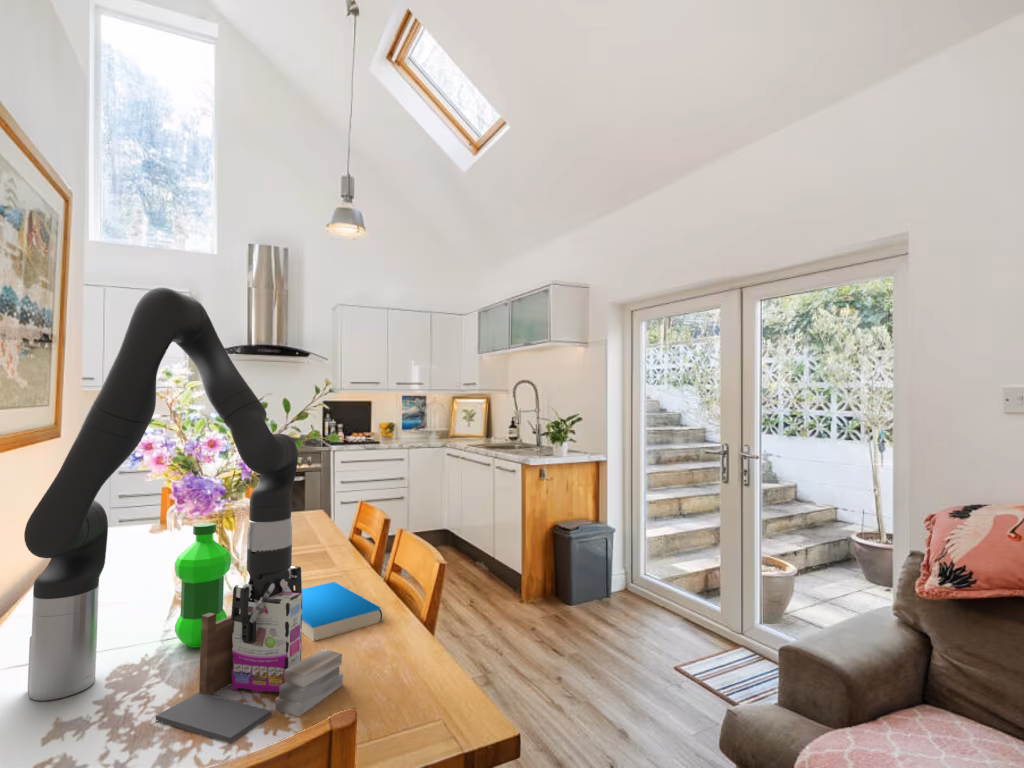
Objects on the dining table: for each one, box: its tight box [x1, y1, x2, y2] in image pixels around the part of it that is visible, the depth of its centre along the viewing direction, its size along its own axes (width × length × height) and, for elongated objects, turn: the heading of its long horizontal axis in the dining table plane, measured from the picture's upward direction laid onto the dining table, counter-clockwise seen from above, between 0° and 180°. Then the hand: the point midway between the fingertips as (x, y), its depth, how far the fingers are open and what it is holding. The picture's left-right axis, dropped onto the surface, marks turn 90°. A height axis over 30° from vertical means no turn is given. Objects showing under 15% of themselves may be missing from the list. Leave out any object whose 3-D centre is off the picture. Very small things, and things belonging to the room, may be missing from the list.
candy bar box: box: [230, 592, 302, 695], centre depth 100 cm, size 11×5×16 cm, turn 80°
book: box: [301, 581, 383, 642], centre depth 134 cm, size 17×4×25 cm
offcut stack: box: [275, 648, 344, 717], centre depth 96 cm, size 5×11×6 cm, turn 159°
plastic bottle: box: [174, 522, 232, 649], centre depth 119 cm, size 10×10×25 cm
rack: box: [198, 613, 233, 696], centre depth 103 cm, size 2×15×14 cm, turn 159°
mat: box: [155, 691, 272, 744], centre depth 90 cm, size 16×8×1 cm, turn 69°
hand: (268, 633), depth 100 cm, fingers open, 8 cm apart
